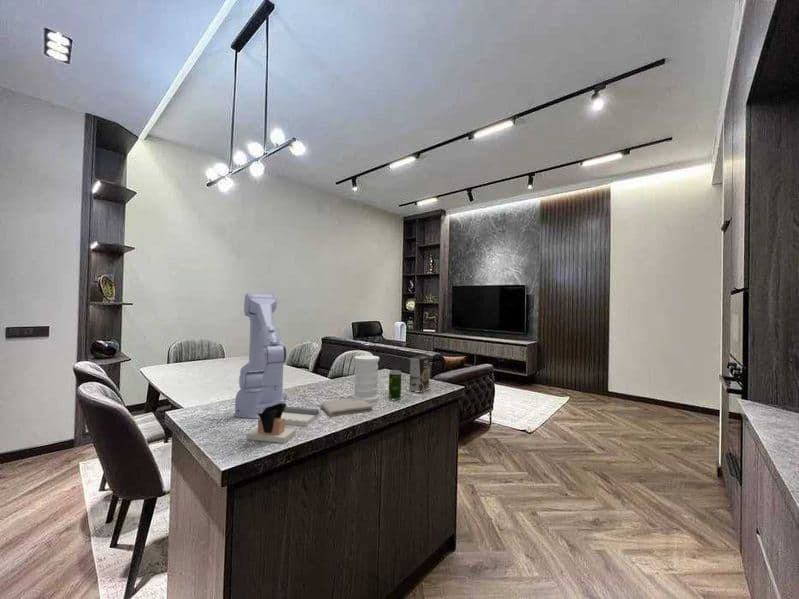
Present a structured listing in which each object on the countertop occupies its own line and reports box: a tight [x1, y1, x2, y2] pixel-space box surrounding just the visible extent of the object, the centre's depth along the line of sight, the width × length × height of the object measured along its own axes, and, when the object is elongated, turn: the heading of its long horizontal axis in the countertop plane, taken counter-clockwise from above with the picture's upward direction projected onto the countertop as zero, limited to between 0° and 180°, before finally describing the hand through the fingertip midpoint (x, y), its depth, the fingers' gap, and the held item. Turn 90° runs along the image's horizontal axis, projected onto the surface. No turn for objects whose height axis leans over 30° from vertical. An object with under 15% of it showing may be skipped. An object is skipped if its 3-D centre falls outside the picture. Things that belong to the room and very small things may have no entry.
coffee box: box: [408, 355, 431, 392], centre depth 165 cm, size 9×6×16 cm
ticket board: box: [281, 405, 322, 427], centre depth 120 cm, size 13×12×3 cm
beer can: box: [388, 369, 402, 401], centre depth 149 cm, size 5×5×12 cm
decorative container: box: [351, 354, 380, 403], centre depth 148 cm, size 12×12×18 cm
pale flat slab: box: [246, 418, 297, 444], centre depth 103 cm, size 12×7×5 cm, turn 80°
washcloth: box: [320, 397, 373, 417], centre depth 132 cm, size 12×18×3 cm, turn 120°
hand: (271, 430), depth 103 cm, fingers closed on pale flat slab, 3 cm apart
